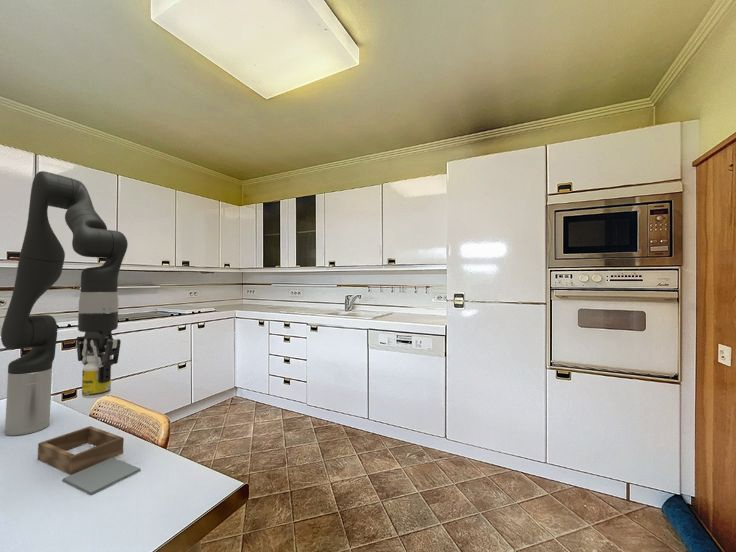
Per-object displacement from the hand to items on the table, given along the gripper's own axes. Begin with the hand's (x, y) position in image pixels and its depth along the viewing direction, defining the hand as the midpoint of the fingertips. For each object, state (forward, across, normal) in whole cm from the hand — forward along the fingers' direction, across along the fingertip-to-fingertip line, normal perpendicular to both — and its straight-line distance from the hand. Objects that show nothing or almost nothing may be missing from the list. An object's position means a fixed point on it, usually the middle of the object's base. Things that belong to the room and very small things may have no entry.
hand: (96, 380), depth 80 cm
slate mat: (+20, +6, -2) cm, 21 cm away
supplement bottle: (+4, 0, 0) cm, 4 cm away
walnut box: (+20, -8, +1) cm, 22 cm away
